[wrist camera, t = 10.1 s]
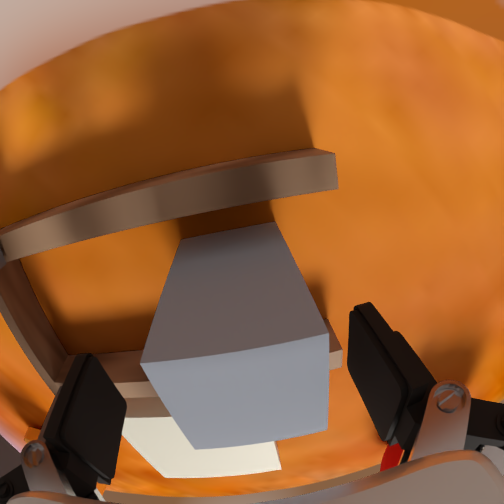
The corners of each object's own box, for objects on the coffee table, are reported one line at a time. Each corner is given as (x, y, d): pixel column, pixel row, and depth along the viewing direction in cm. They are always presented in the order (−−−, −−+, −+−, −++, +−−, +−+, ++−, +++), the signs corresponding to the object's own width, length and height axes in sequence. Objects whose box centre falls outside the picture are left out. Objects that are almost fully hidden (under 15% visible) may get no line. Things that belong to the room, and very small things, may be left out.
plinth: (261, 380, 20) (264, 406, 18) (278, 449, 25) (281, 469, 23) (114, 393, 20) (106, 417, 18) (166, 458, 25) (165, 477, 22)
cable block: (275, 221, 15) (329, 333, 7) (286, 301, 17) (327, 429, 9) (181, 239, 15) (139, 363, 7) (203, 316, 17) (194, 449, 9)
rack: (314, 147, 14) (334, 153, 11) (328, 336, 19) (341, 367, 16) (-2, 229, 14) (-29, 247, 11) (68, 369, 19) (55, 396, 16)
